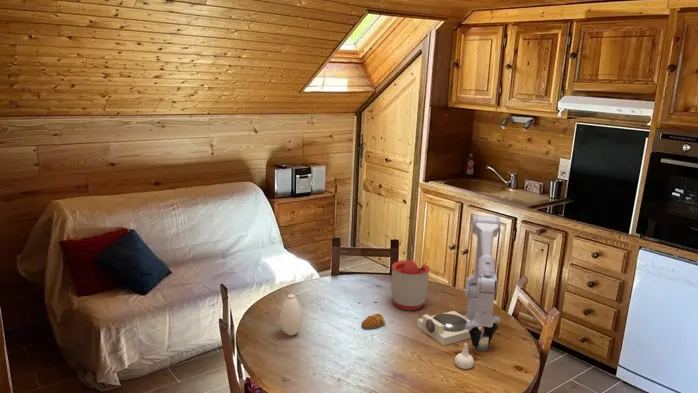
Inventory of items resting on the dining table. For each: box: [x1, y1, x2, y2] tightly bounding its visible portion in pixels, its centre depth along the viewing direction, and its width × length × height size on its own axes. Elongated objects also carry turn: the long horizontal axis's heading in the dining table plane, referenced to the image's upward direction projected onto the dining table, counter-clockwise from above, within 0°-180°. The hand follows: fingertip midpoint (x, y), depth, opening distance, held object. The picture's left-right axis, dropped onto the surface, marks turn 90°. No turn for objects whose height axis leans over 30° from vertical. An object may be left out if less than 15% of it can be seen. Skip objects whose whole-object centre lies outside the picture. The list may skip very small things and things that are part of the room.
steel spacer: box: [472, 331, 489, 353], centre depth 185 cm, size 5×5×5 cm
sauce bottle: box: [279, 288, 303, 336], centre depth 189 cm, size 8×8×18 cm
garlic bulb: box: [454, 342, 475, 370], centre depth 174 cm, size 6×6×8 cm
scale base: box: [416, 310, 483, 346], centre depth 197 cm, size 18×16×6 cm
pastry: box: [361, 313, 386, 330], centre depth 200 cm, size 9×7×4 cm
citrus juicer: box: [390, 259, 430, 311], centre depth 218 cm, size 16×17×20 cm
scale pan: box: [433, 313, 467, 331], centre depth 197 cm, size 13×13×1 cm
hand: (480, 344), depth 186 cm, fingers closed on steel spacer, 5 cm apart
